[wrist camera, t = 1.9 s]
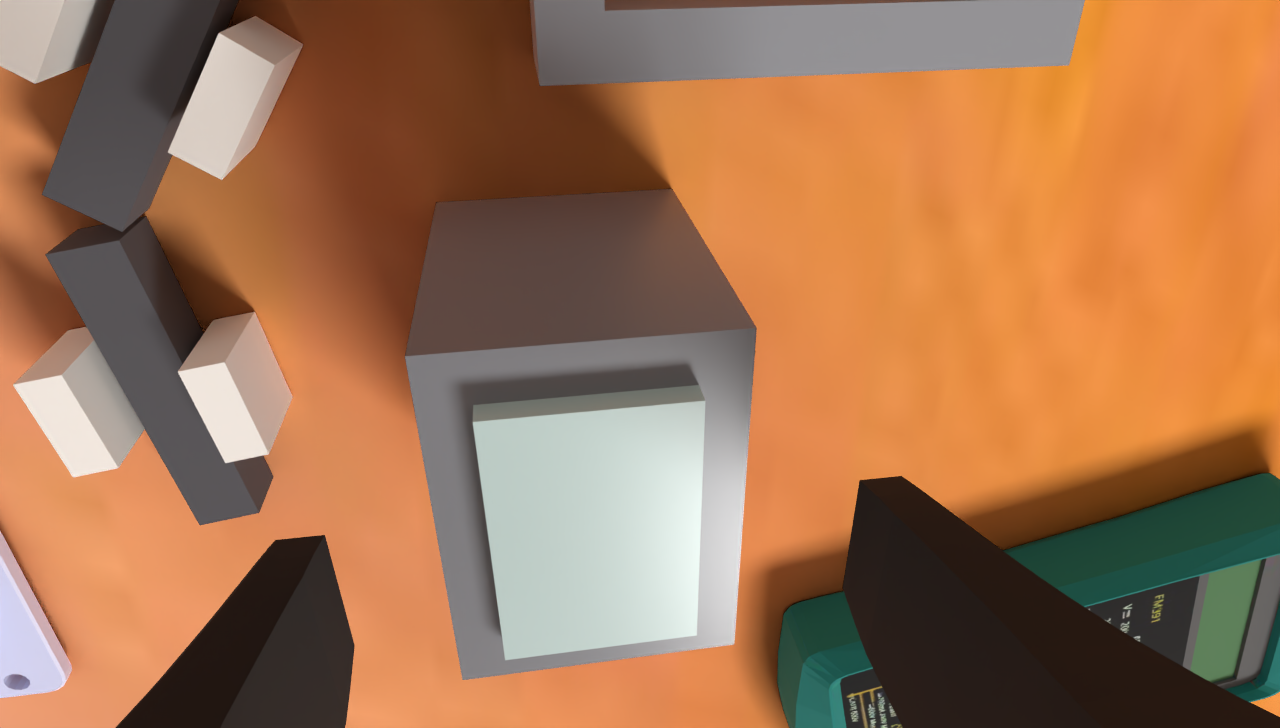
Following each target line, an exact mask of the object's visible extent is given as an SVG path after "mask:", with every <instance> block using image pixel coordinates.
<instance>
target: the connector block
mask: <svg viewBox="0 0 1280 728" xmlns="http://www.w3.org/2000/svg"><path fill="white" fill-rule="evenodd" d="M755 342H756V326H755V325H754V323H753V321H752V320H751V318H750V316H749V315H748V313H747V311H746V310H745V308H744V306H743V305H742V303H741V302H740V300H739V298H738V297H737V295H736V293H735V292H734V290H733V288H732V287H731V285H730V283H729V282H728V280H727V278H726V277H725V275H724V273H723V272H722V270H721V269H720V267H719V265H718V264H717V262H716V260H715V259H714V257H713V255H712V254H711V252H710V250H709V249H708V247H707V245H706V244H705V242H704V240H703V239H702V237H701V236H700V234H699V232H698V231H697V229H696V227H695V226H694V224H693V222H692V221H691V219H690V217H689V216H688V214H687V212H686V211H685V209H684V207H683V206H682V204H681V203H680V201H679V199H678V198H677V196H676V194H675V193H674V191H673V189H659V190H642V191H624V192H607V193H589V194H572V195H554V196H537V197H519V198H502V199H484V200H466V201H449V202H436V205H435V210H434V215H433V220H432V225H431V230H430V235H429V240H428V245H427V250H426V255H425V260H424V264H423V269H422V274H421V279H420V284H419V289H418V294H417V299H416V304H415V309H414V314H413V319H412V324H411V329H410V334H409V338H408V343H407V348H406V353H405V360H406V366H407V371H408V377H409V382H410V388H411V393H412V399H413V405H414V410H415V416H416V421H417V427H418V433H419V438H420V444H421V449H422V455H423V461H424V466H425V472H426V477H427V483H428V489H429V494H430V500H431V505H432V511H433V517H434V522H435V528H436V533H437V539H438V545H439V550H440V556H441V561H442V567H443V573H444V578H445V584H446V589H447V595H448V601H449V606H450V612H451V617H452V623H453V629H454V634H455V640H456V645H457V651H458V657H459V662H460V668H461V673H462V679H463V680H468V679H475V678H483V677H490V676H498V675H505V674H513V673H521V672H528V671H536V670H543V669H551V668H559V667H566V666H574V665H581V664H589V663H597V662H604V661H612V660H619V659H627V658H635V657H642V656H650V655H657V654H665V653H673V652H680V651H688V650H695V649H703V648H711V647H718V646H726V645H733V644H734V640H735V626H736V612H737V598H738V584H739V569H740V555H741V541H742V527H743V513H744V498H745V484H746V470H747V456H748V442H749V427H750V413H751V399H752V385H753V371H754V356H755Z"/></svg>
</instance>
